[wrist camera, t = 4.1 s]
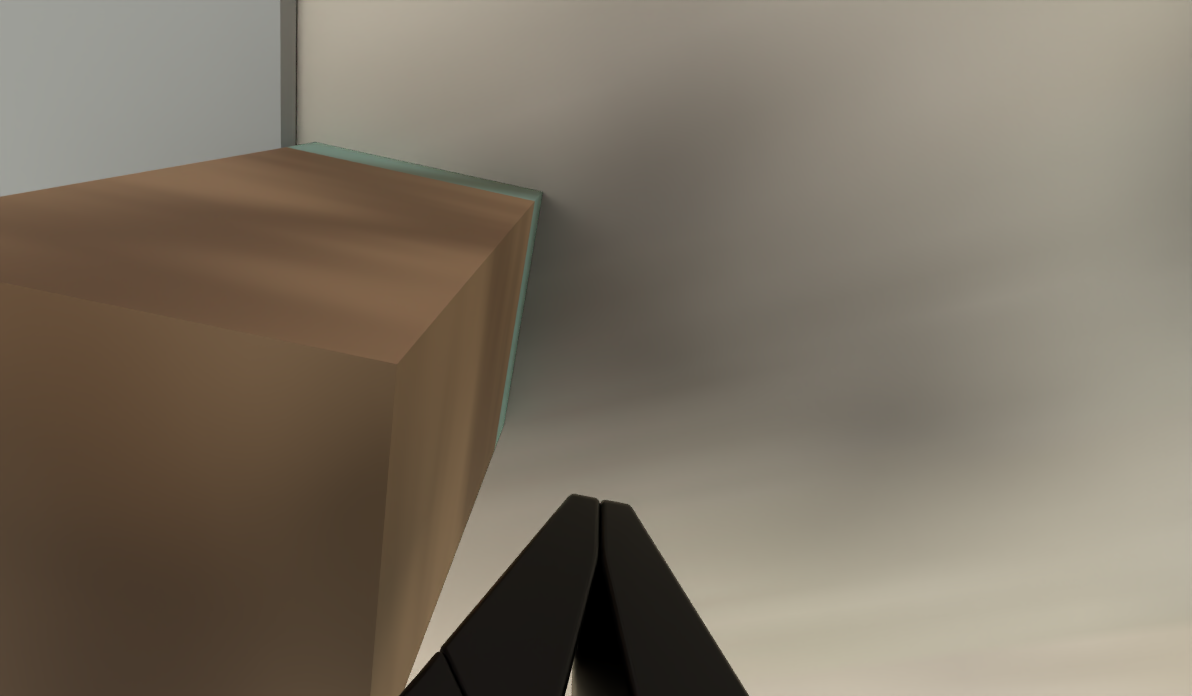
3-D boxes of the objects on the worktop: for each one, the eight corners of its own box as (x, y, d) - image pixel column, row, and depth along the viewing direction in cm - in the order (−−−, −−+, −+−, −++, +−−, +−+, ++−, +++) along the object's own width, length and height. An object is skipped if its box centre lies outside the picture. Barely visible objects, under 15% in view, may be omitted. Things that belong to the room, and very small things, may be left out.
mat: (296, -81, 11) (279, -90, 11) (293, 507, 17) (282, 521, 16) (-246, -206, 11) (-292, -221, 11) (-69, 435, 17) (-93, 447, 16)
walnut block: (542, 191, 13) (396, 365, 5) (503, 424, 16) (361, 802, 7) (315, 142, 13) (-226, 236, 5) (310, 384, 15) (-57, 726, 7)
